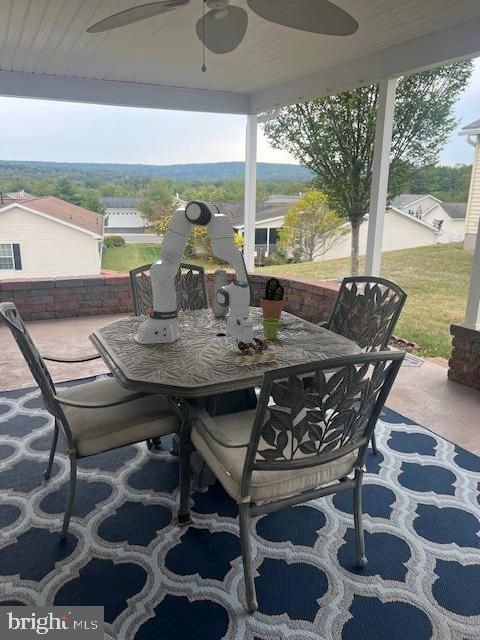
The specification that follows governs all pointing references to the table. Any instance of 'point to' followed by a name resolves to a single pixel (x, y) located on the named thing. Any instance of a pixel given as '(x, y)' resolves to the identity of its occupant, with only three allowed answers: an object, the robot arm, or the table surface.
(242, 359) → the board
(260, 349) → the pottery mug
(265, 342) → the walnut block
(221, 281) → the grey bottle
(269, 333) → the plant pot
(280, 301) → the potted plant
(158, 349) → the table surface
